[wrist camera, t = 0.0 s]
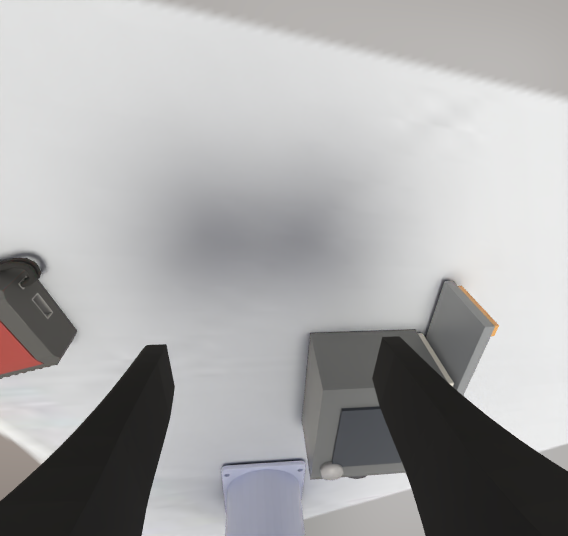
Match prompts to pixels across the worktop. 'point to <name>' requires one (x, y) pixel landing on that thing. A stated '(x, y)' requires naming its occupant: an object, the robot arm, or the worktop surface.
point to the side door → (459, 333)
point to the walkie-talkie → (29, 321)
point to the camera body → (351, 404)
